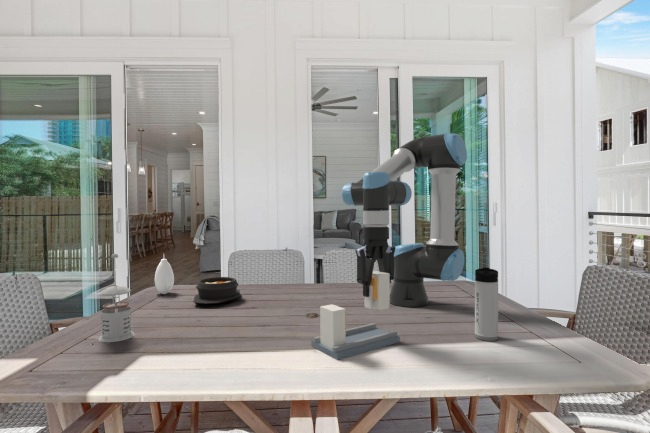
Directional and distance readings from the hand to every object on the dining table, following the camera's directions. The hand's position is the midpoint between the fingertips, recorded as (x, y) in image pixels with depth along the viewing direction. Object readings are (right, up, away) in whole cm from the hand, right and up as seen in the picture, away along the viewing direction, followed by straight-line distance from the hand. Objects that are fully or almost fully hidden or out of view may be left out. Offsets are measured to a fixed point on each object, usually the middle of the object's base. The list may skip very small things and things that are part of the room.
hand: (375, 306), depth 115 cm
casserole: (-59, -9, +48) cm, 77 cm away
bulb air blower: (-86, -9, +61) cm, 106 cm away
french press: (-78, -10, +5) cm, 79 cm away
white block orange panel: (0, 0, 0) cm, 0 cm away
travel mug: (+32, -9, +1) cm, 34 cm away
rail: (-6, -10, -4) cm, 12 cm away
